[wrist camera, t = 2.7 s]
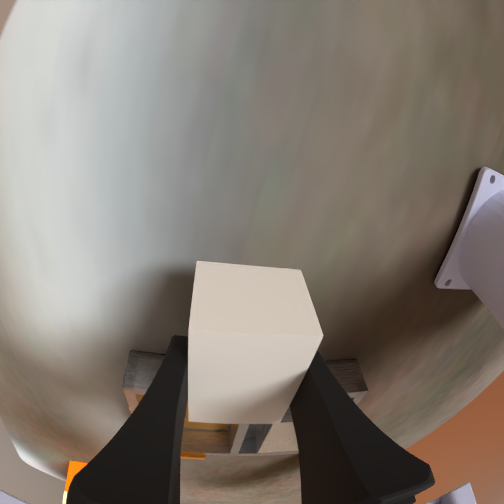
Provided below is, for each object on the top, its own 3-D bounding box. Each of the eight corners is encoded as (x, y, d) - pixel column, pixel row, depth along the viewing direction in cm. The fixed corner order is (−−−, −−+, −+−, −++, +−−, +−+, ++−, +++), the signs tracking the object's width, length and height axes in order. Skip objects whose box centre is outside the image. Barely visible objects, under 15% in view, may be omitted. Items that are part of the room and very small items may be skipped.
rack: (356, 359, 20) (370, 397, 17) (311, 426, 25) (317, 456, 22) (130, 350, 17) (120, 394, 15) (147, 423, 23) (144, 455, 20)
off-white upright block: (300, 269, 12) (323, 335, 9) (270, 364, 15) (279, 423, 12) (196, 260, 11) (188, 329, 8) (192, 360, 14) (188, 421, 11)
